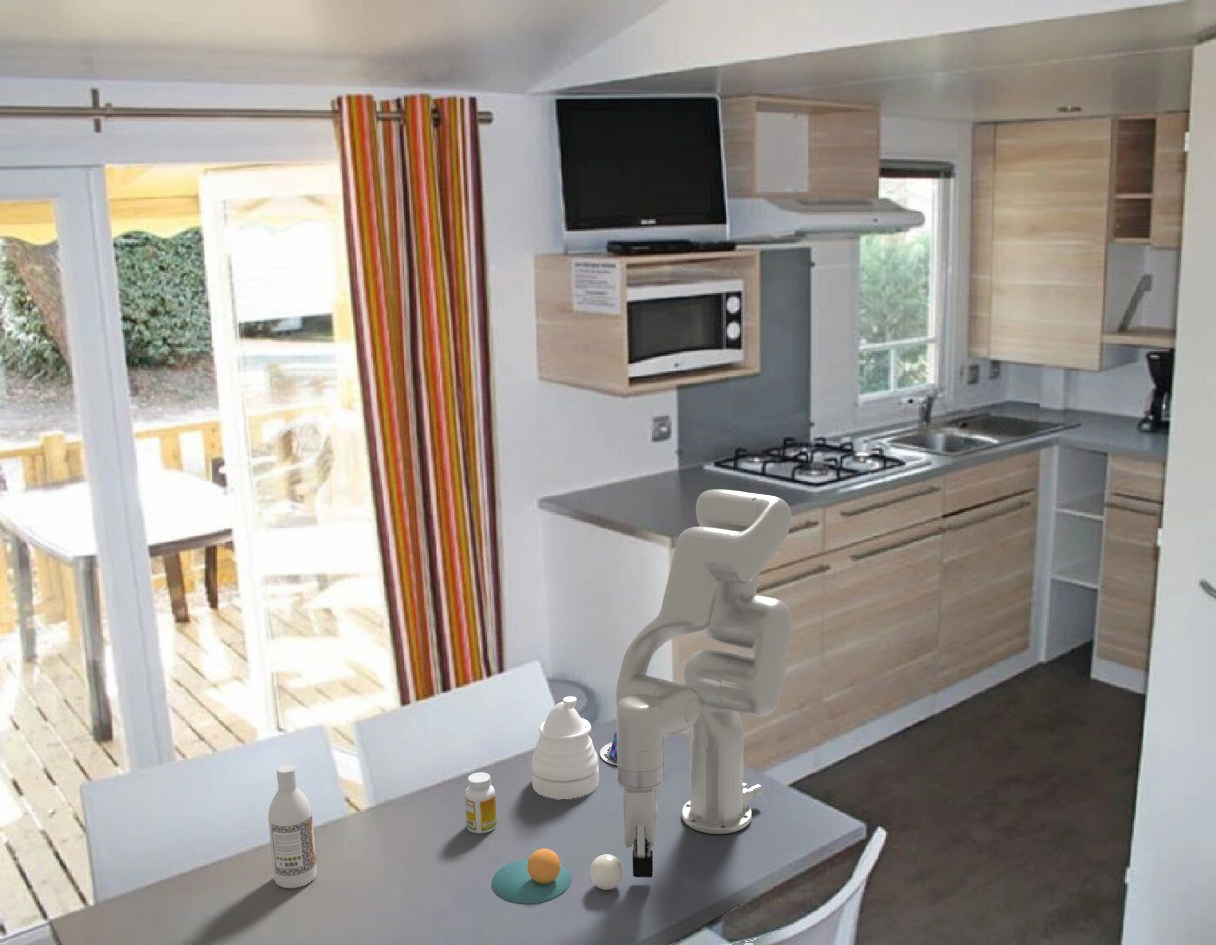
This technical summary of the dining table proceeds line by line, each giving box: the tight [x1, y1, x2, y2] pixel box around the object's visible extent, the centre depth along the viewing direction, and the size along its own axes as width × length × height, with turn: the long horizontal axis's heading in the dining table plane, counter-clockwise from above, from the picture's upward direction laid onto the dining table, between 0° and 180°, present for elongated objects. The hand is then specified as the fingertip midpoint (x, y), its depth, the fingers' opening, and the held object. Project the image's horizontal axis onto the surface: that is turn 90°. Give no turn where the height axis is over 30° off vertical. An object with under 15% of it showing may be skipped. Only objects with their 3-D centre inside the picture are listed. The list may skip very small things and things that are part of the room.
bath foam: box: [268, 764, 318, 889], centre depth 196 cm, size 7×7×20 cm
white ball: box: [589, 853, 624, 891], centre depth 193 cm, size 6×6×6 cm
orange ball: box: [527, 848, 562, 884], centre depth 195 cm, size 6×6×6 cm
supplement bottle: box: [464, 771, 498, 834], centre depth 212 cm, size 5×5×10 cm
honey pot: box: [531, 695, 600, 800], centre depth 227 cm, size 13×13×18 cm
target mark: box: [491, 858, 572, 905], centre depth 196 cm, size 13×13×1 cm
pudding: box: [599, 730, 617, 766], centre depth 239 cm, size 12×12×5 cm
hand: (642, 874), depth 194 cm, fingers closed
